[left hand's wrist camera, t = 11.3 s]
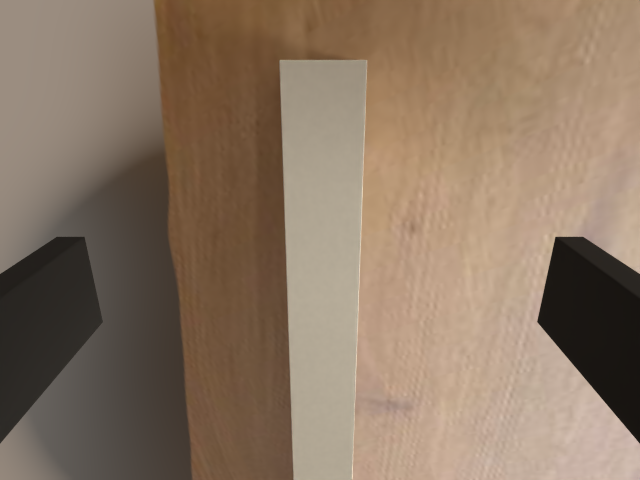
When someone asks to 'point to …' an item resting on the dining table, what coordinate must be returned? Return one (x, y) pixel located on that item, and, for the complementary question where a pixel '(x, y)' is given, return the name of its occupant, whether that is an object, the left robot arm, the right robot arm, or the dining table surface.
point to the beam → (323, 256)
